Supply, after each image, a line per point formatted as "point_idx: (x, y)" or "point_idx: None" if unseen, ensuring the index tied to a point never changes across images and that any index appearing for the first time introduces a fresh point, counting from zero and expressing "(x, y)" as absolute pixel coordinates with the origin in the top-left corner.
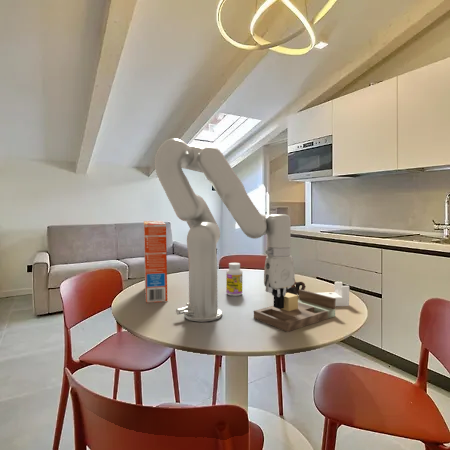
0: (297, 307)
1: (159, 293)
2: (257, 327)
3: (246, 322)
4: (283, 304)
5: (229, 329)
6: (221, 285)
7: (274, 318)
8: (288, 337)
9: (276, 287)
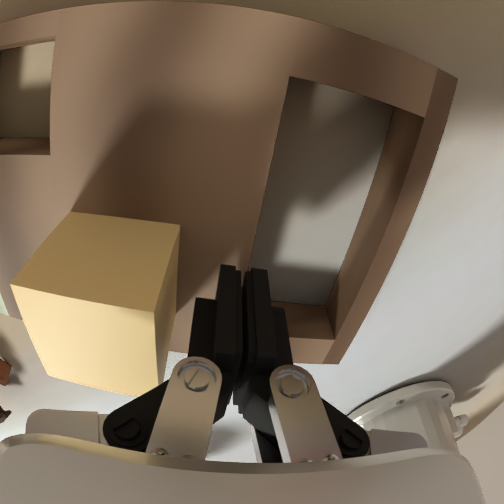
0: (69, 217)
1: None
2: (440, 245)
3: (400, 316)
4: (229, 285)
5: (487, 304)
6: None
7: (414, 208)
8: (479, 42)
9: (450, 464)
